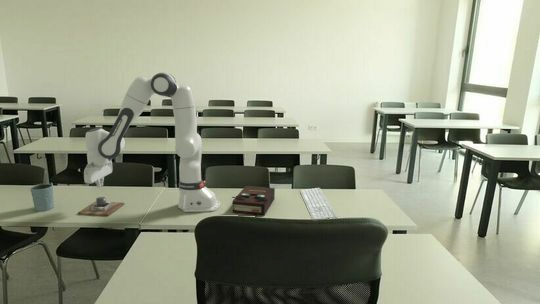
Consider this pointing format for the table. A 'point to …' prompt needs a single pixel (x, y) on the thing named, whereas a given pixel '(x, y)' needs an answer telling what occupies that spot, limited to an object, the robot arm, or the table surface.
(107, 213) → the board
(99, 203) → the black cap
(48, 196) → the blue cup
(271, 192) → the decorative book
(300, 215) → the table surface
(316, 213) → the keyboard
